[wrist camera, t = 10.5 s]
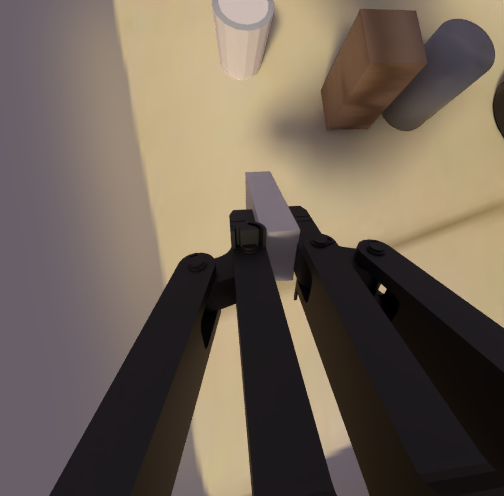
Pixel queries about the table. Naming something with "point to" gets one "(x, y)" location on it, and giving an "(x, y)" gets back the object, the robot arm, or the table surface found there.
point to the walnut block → (372, 67)
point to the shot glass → (242, 34)
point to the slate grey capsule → (442, 73)
